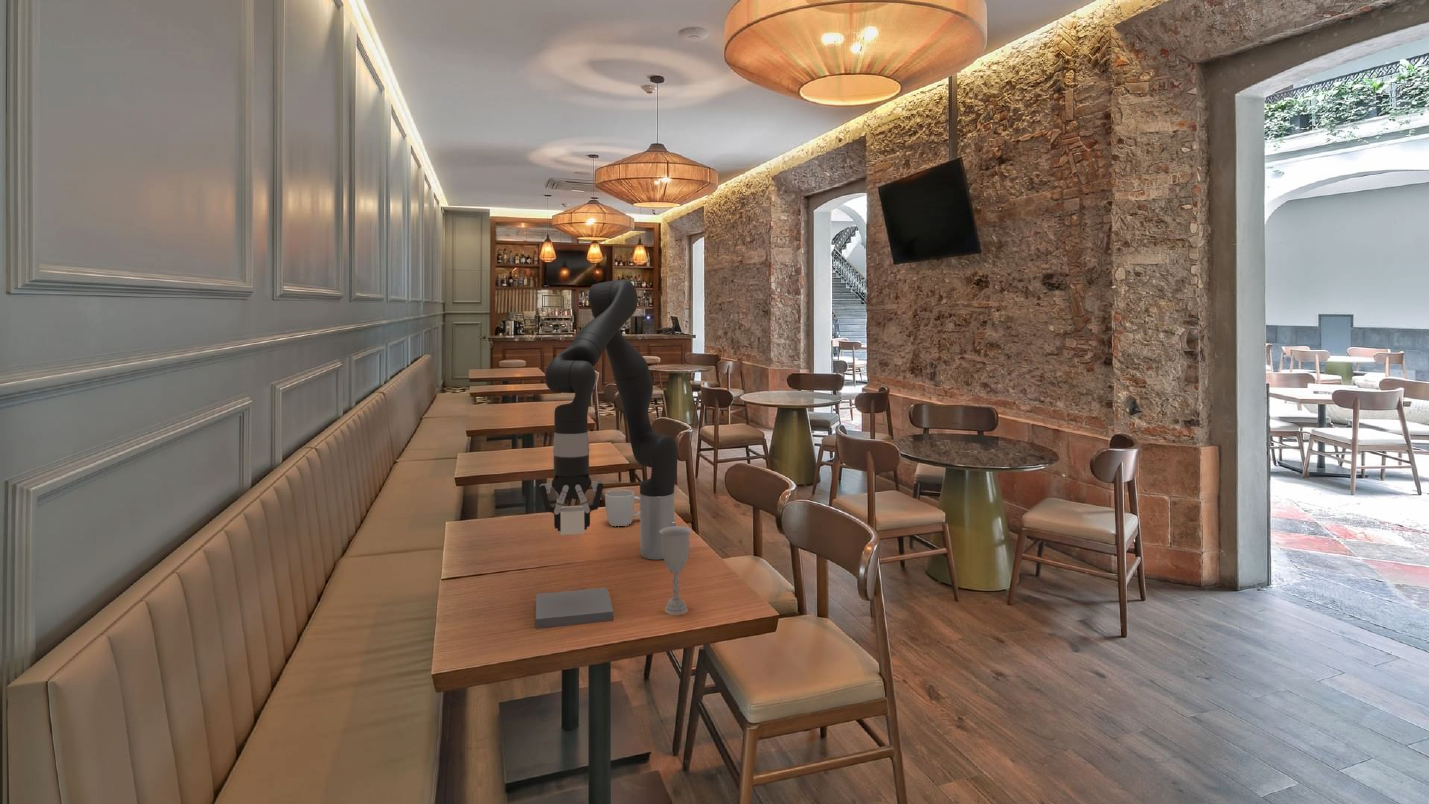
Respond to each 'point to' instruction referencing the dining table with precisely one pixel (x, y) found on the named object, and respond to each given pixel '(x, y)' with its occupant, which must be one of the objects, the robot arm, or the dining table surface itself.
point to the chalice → (675, 561)
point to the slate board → (573, 607)
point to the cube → (572, 520)
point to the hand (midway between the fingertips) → (572, 529)
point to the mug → (620, 507)
